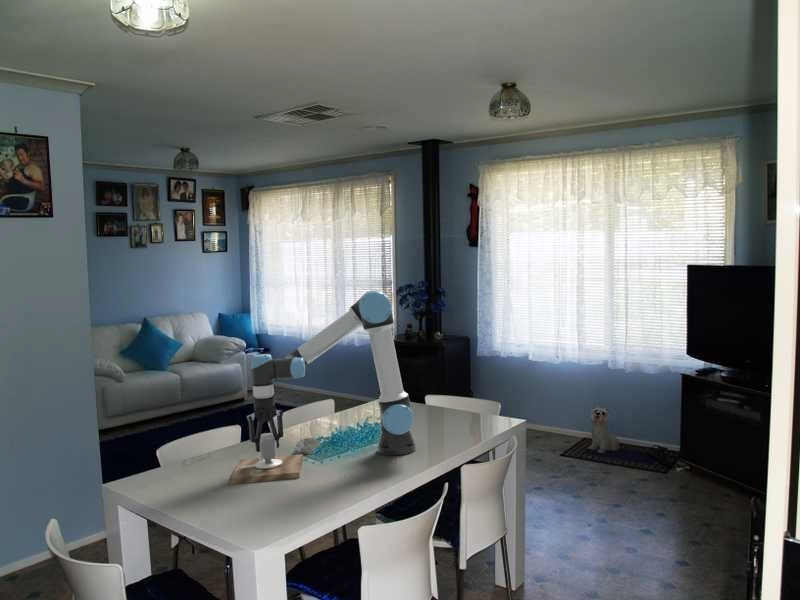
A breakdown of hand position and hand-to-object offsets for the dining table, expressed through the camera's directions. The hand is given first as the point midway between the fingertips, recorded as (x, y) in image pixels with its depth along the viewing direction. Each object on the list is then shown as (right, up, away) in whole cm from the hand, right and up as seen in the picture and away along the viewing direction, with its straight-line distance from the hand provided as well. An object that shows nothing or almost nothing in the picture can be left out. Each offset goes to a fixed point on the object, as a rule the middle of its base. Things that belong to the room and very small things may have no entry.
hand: (268, 458), depth 235 cm
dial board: (0, -5, 0) cm, 5 cm away
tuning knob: (-2, -2, -1) cm, 3 cm away
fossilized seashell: (+11, -4, +25) cm, 27 cm away
